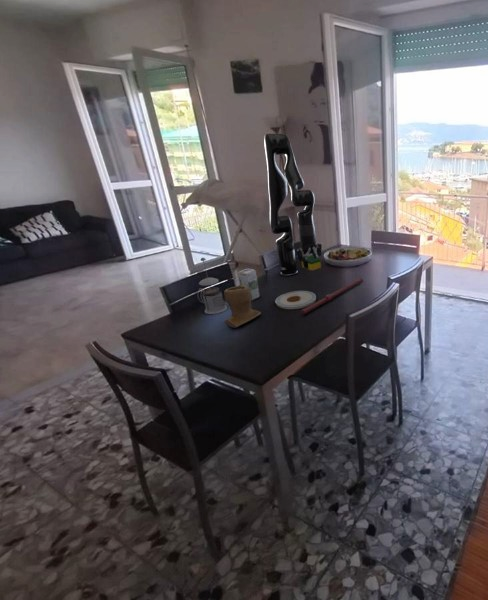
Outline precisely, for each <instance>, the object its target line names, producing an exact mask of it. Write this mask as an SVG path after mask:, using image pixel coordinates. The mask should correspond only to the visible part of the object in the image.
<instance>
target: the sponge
mask: <svg viewBox="0 0 488 600" xmlns="http://www.w3.org/2000/svg"><path fill="white" fill-rule="evenodd" d="M307 261H308V268H307V270H309V271H315V270H318V269H321V268H322V264H321V258H319V257H318V258H315V257H314V256H313V255H312V256H311V255H309V257H308V258H307ZM301 268H304V269H306V268H305V267H304V265H303V261H301Z"/></svg>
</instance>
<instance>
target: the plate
mask: <svg viewBox="0 0 488 600" xmlns="http://www.w3.org/2000/svg"><path fill="white" fill-rule="evenodd" d="M274 301H275V305H276V307H278V308H280V309H282V310H298V309H305V308H307V307H309V306H310V305H312V304H314V303H316V302H317V295H316V294H315V293H314V292H312V291H310V290H309V291H308V290H295V291H289V292H286V293H283V294H281V295H279V296H278V297H276V299H275V300H274Z"/></svg>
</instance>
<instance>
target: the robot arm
mask: <svg viewBox="0 0 488 600" xmlns="http://www.w3.org/2000/svg"><path fill="white" fill-rule="evenodd" d="M263 142H264V150H265V151H264V152H265V159H266V166H267V186H268V199H269V229H270V231H271V232H272V234H274V235H280V234H282V235H281V236H280V237H279V238H278V239H276V240H275V244H276V251H277V261H278V266H279V271H280V275H281V276H284V277H291V276H294V275H297V274H298V273H299V272H298V265H297V261H296V260H297V258H298V261H300V262H302V261H303V265H304V267H305V268H304V269H305V270H306V269H307V268H308V261H307V258H308V257H309V256H310V255H312V257H315V258H318V259H319V257H321V256H322V248H323V247H322V245H323V244H321V243H317V237H316V236H317V235H316V228H315V224H314V206H315V202H316V201H315V194H314V193H313V191H312V190H311V189H303V188H304V187H305V182H304V179H303V177H302V175H301V173H300V171H299V168H298V165H297V161H296V158H295V155H294V151H293V147H292V144H291V141H290V138H289V136H288V135H287V134H285V133H265V135H264V141H263ZM279 155H282V156H283V155H284V156H285V157H286V162H285V165H284V169H283V172H282V171H281V169H280V168H279V166H278V164H277V161H276V156H279ZM288 187H289V192H290V201H291V203H292V205H293V206H295V207H297V208H300V207H304V209H303V210H300V211H298V212H297V224H298V235H299V242H300V248H296V250H295V245H294V234H293V232H294V231H293V224H292V220H291V218H290V216H289V215H287V214H285V215H279V214H280V209H281V207H282V206H283V204H284V202H285V201H286V198H287V196H288ZM302 189H303V190H302ZM296 255H297V258H296ZM307 270H308V269H307Z"/></svg>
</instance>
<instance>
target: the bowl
mask: <svg viewBox="0 0 488 600" xmlns="http://www.w3.org/2000/svg"><path fill="white" fill-rule="evenodd" d="M372 253H373V252H372V250H370V249H368V248H366V247H360V246H342V247H336V248H332V249H329V250H327V251H325V252H324V253H323V258H324V261H325V262H326V263H327V264H329V265H330V266H333V267H340V268H351V267H357V266H361V265H364V264H366V263H368V262H369V261H370V260H371V259H372V255H373V254H372Z"/></svg>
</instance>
